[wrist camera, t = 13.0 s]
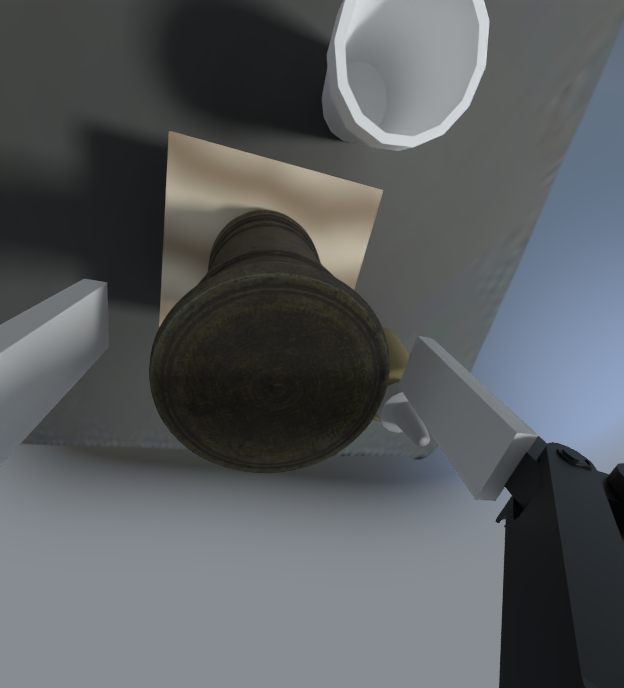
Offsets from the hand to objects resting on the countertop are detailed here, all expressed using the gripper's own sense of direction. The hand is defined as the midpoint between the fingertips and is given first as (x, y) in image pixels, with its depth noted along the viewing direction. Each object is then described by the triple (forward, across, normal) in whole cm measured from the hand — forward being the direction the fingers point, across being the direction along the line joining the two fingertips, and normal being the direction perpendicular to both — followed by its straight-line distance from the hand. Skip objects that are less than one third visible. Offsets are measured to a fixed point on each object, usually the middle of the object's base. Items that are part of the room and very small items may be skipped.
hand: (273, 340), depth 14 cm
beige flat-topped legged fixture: (+24, 0, 0) cm, 24 cm away
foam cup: (+24, +6, +14) cm, 29 cm away
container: (+15, 0, 0) cm, 15 cm away
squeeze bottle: (+24, +14, -10) cm, 29 cm away
